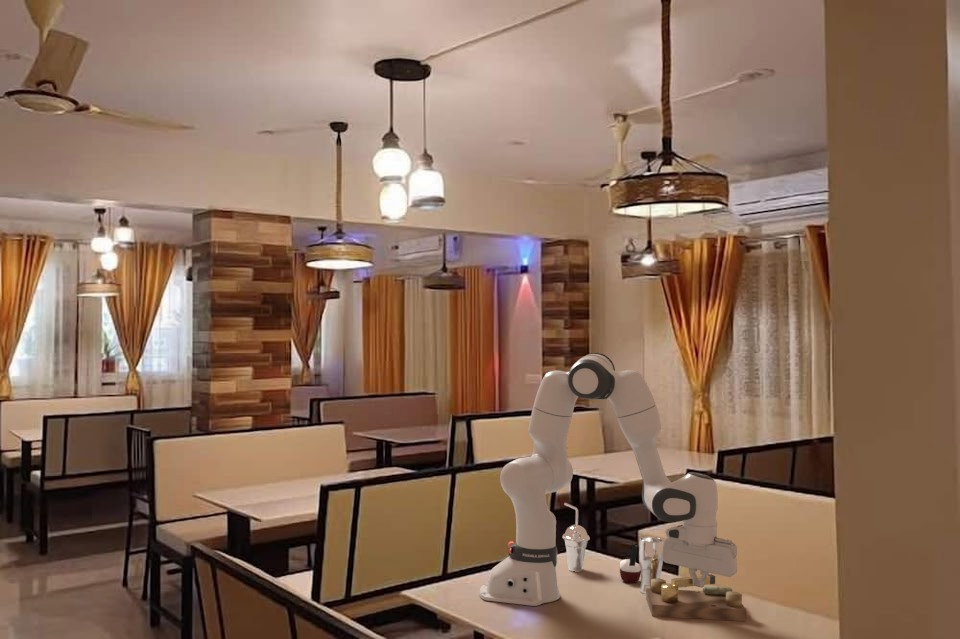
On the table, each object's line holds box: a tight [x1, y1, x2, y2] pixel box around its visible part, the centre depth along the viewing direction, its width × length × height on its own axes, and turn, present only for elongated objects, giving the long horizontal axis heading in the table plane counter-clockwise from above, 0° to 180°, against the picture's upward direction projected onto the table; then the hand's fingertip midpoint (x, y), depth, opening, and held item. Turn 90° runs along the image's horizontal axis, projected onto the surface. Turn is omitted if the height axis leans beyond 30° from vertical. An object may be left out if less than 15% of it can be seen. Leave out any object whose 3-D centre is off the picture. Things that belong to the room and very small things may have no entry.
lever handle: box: [661, 573, 716, 602], centre depth 221 cm, size 16×4×5 cm, turn 112°
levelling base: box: [645, 578, 747, 622], centre depth 221 cm, size 24×14×6 cm, turn 85°
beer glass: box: [638, 536, 664, 595], centre depth 236 cm, size 7×7×15 cm
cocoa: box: [619, 544, 641, 584], centre depth 245 cm, size 10×6×12 cm, turn 162°
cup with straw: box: [562, 502, 590, 573], centre depth 257 cm, size 8×9×20 cm
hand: (698, 586), depth 219 cm, fingers closed
